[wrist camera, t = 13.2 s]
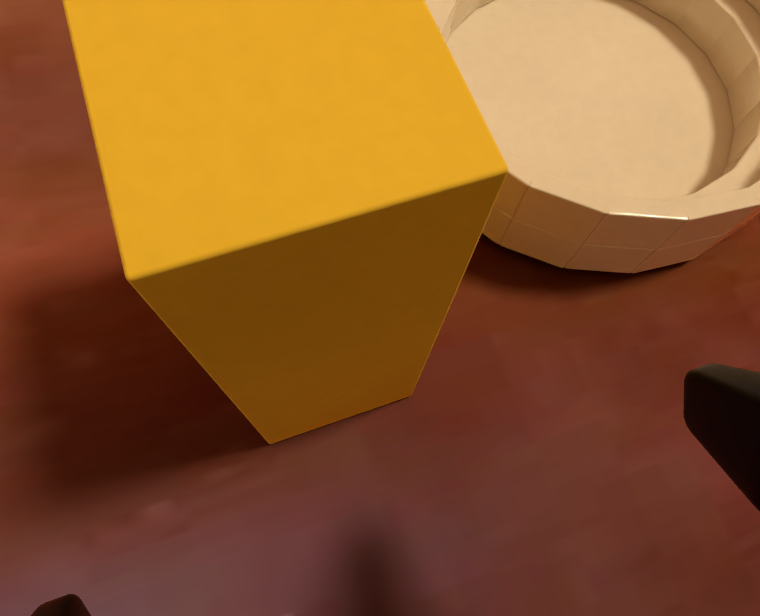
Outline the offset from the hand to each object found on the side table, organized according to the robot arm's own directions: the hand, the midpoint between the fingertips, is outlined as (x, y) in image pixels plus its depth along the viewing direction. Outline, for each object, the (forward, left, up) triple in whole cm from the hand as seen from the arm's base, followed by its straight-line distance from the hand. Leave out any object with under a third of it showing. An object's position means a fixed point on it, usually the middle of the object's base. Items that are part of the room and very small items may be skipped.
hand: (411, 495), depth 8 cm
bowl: (+3, -16, -9) cm, 19 cm away
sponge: (+6, -3, -9) cm, 11 cm away
